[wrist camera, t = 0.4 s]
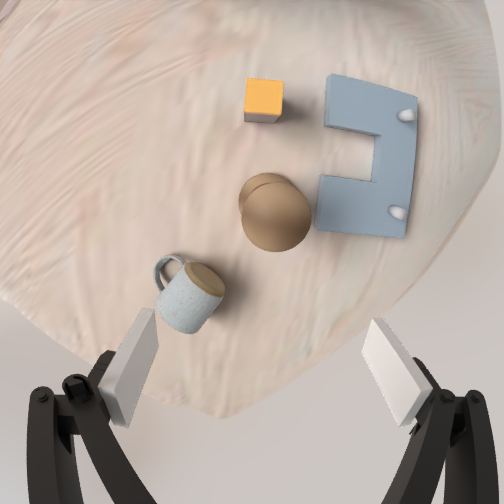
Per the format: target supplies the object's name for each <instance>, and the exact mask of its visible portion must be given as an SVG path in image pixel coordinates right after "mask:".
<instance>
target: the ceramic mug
mask: <svg viewBox="0 0 504 504" xmlns="http://www.w3.org/2000/svg"><path fill="white" fill-rule="evenodd" d="M170 258H172V259H175V260H176V261H178V262H179V263H180V264H181V265H182V268H181V269H180V270H179V271H178V272H177V274H176V275H175V276H174V278H173V279H172V280H171V282H170V283H169V284H168V285H167V286H166V287H164V286H163V284H162V282H161V279H160V269H161V268H162V266H163V265H164V264H165V263H166V262H168V261H169V259H170ZM153 278H154V282H155V284H156V287H157V288H158V290H159V292H160V295H159V296H158V298H157V300H156V308H157V311H158V313H159V314H160V316H161V317H162V318H163V320H164V321H165V322H166V323H167V324H168V325H170V326H171V327H172V328H174V329H175V330H177V331H179V332H182V333H185V334H194V333H196V332H197V331H198V330H199V329H200V328H201V326H202V325H203V324H204V323H205V321H206V320H207V319H208V318H209V316H210V315H211V314H212V312H213V311H214V310H215V309H216V308H217V306H218V305H219V304H220V302H221V301H222V299H223V297H224V295H225V292H226V290H225V285H224V283H223V282H222V280H221V279H220V278H219V277H218V276H217V275H216V274H215V273H214V272H213V271H212V270H210V269H209V268H208V267H206V266H204V265H202V264H200V263H197V262H189V263H187V262H186V261H185V260H184V259H183V258H181V257H179V256H177V255H166V256H163V257H162V258H160V259H159V260H158V261H157V263H156V264H155V266H154V269H153Z"/></svg>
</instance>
